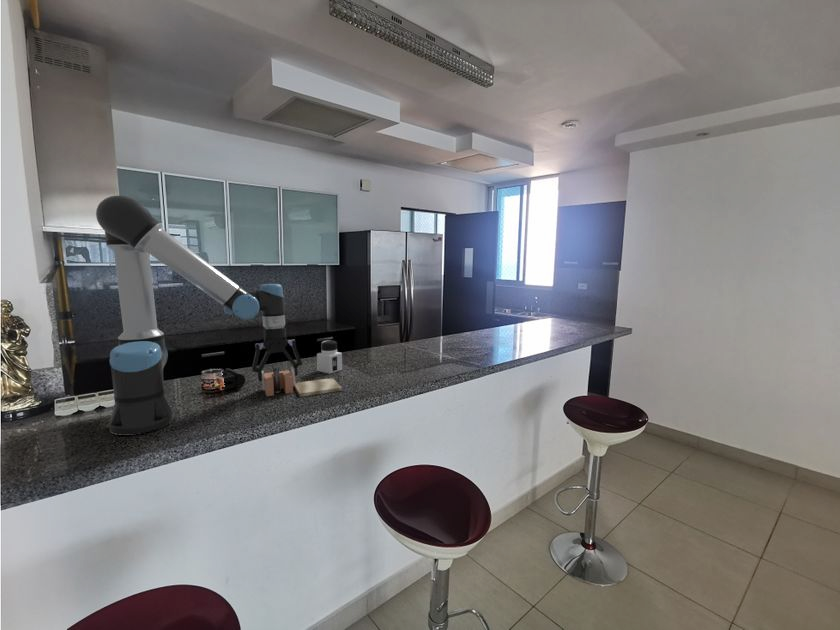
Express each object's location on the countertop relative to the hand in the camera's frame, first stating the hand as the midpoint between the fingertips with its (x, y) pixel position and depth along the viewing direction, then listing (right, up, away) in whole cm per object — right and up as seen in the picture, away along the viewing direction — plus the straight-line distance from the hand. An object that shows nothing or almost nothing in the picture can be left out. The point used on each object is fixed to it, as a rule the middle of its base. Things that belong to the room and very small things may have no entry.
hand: (279, 386), depth 142 cm
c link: (0, -1, -1) cm, 1 cm away
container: (+13, +2, +26) cm, 29 cm away
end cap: (-19, -1, +2) cm, 19 cm away
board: (+14, -1, +2) cm, 14 cm away
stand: (0, -2, -2) cm, 3 cm away
